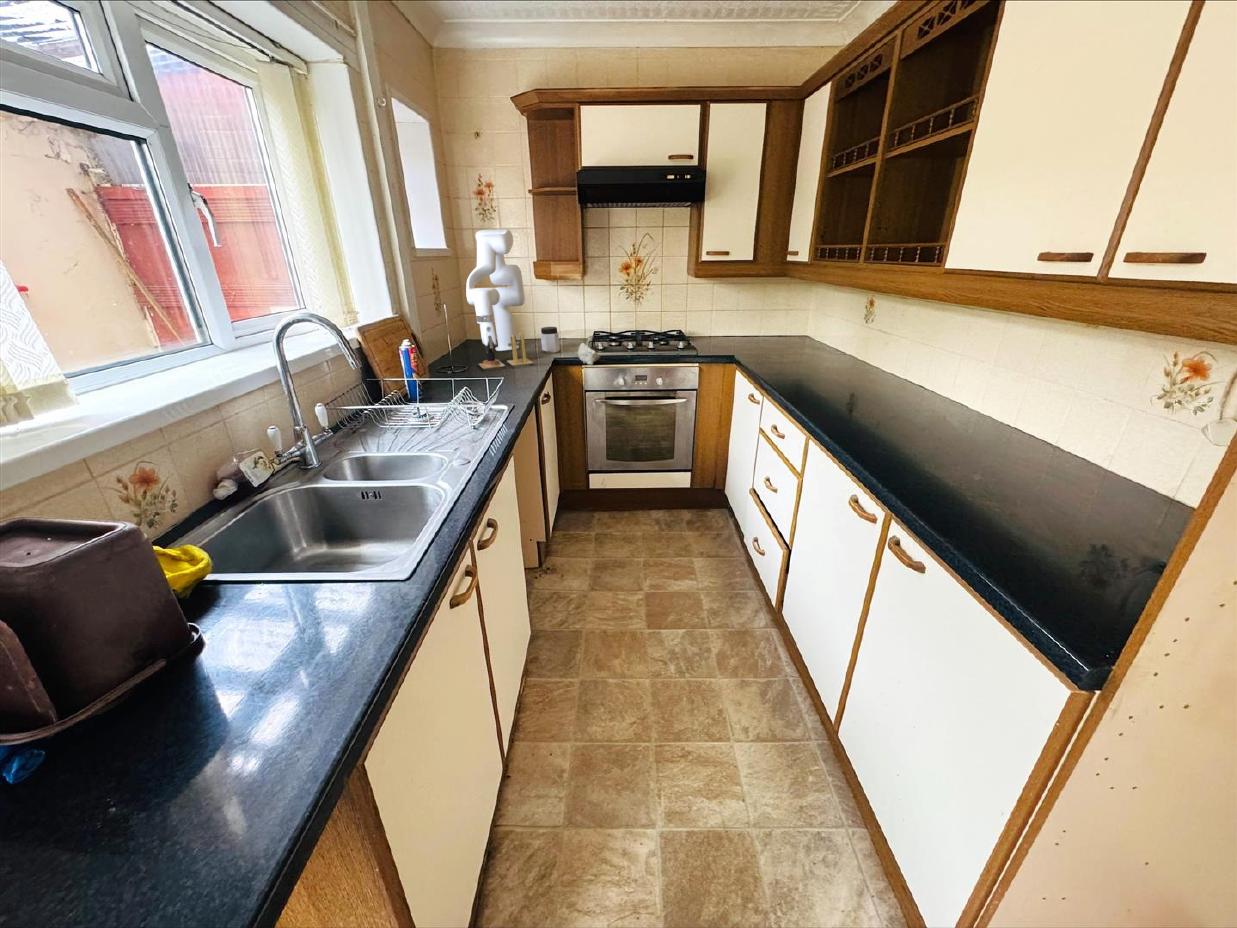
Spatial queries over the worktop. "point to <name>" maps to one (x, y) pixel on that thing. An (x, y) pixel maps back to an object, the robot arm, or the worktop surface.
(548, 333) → the jar
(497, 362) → the switch block
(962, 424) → the worktop surface
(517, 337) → the switch lever
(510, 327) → the robot arm
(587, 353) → the grey rock
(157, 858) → the worktop surface
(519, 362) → the light wood peg stand
